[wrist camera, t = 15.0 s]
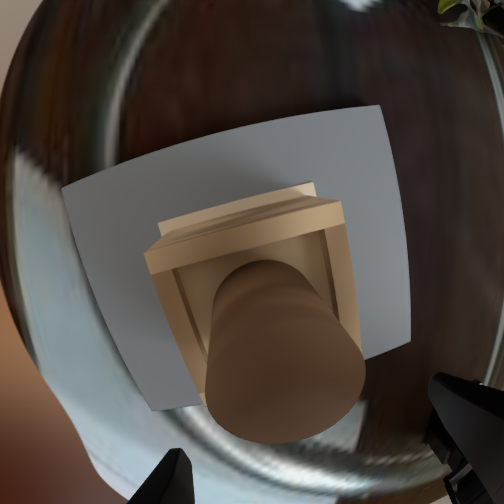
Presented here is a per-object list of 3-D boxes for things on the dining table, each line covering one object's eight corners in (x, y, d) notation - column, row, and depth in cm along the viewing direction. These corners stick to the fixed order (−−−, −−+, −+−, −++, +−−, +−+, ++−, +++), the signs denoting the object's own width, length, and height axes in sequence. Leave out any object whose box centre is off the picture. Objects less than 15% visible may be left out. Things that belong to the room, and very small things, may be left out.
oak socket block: (305, 195, 15) (340, 201, 10) (329, 318, 16) (362, 364, 12) (169, 230, 14) (143, 253, 10) (209, 350, 16) (205, 406, 11)
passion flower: (452, 36, 18) (554, 75, 10) (405, 59, 17) (546, 111, 9) (430, -58, 10) (546, -34, 2) (370, -67, 9) (537, -51, 1)
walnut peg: (305, 248, 11) (360, 299, 6) (321, 338, 12) (366, 418, 7) (199, 275, 11) (180, 347, 6) (228, 362, 12) (231, 454, 7)
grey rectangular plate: (371, 108, 15) (380, 104, 14) (403, 334, 18) (411, 341, 17) (69, 187, 14) (60, 188, 13) (154, 402, 18) (151, 412, 17)
